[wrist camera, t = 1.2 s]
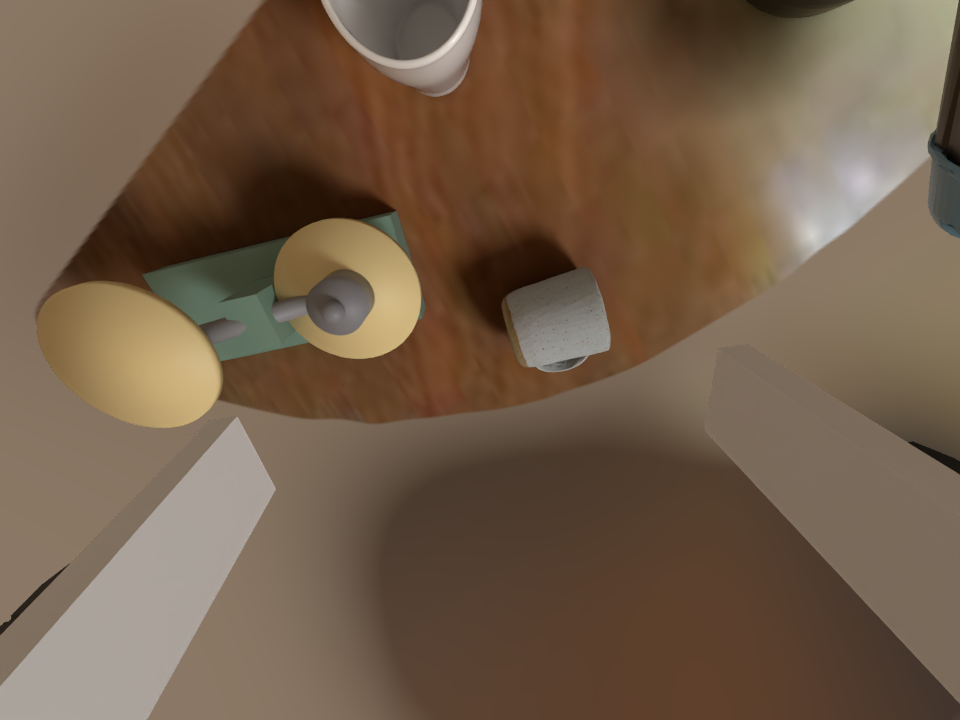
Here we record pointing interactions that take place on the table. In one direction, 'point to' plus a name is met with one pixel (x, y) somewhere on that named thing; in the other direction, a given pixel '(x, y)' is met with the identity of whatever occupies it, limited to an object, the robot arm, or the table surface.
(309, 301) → the balance
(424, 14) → the white cup
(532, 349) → the ceramic mug
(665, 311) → the table surface
